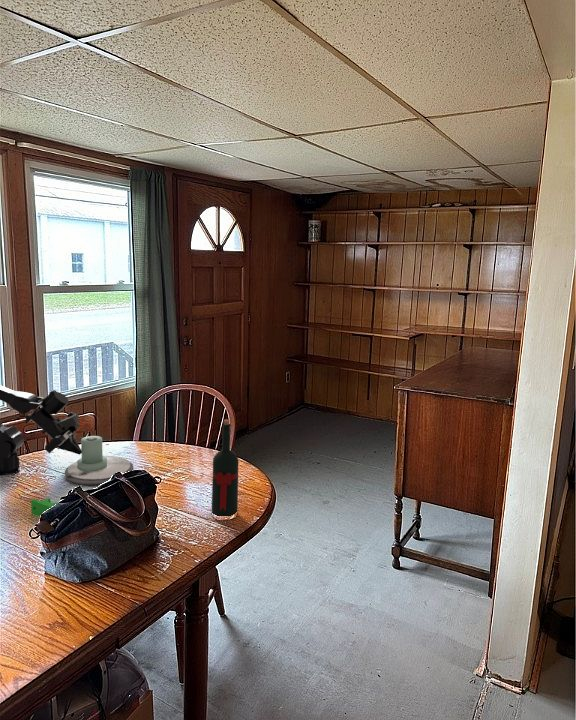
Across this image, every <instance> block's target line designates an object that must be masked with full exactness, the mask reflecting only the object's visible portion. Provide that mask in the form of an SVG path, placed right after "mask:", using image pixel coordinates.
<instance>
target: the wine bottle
mask: <svg viewBox="0 0 576 720" xmlns="http://www.w3.org/2000/svg"><path fill="white" fill-rule="evenodd" d="M221 445H222V447H221V448H222V449H220V450H219V451H217V452H216V454H215V455H214V456H213V458H212V479H211V480H212V484H211V486H212V487H211V488H212V489H211V514H212V513H213V514H215V515H217V516H231V515H233V514H235V513H236V512H237V513H238V510H239V509H238V506H239V504H238V503H239V501H238V500H239V499H238V498H239V497H238V495H239V458H238V456H237V455H238V454H236V453H235V451H233V450H231V423H230V419H228V418H226V419H223V424H222V442H221Z"/></svg>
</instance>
